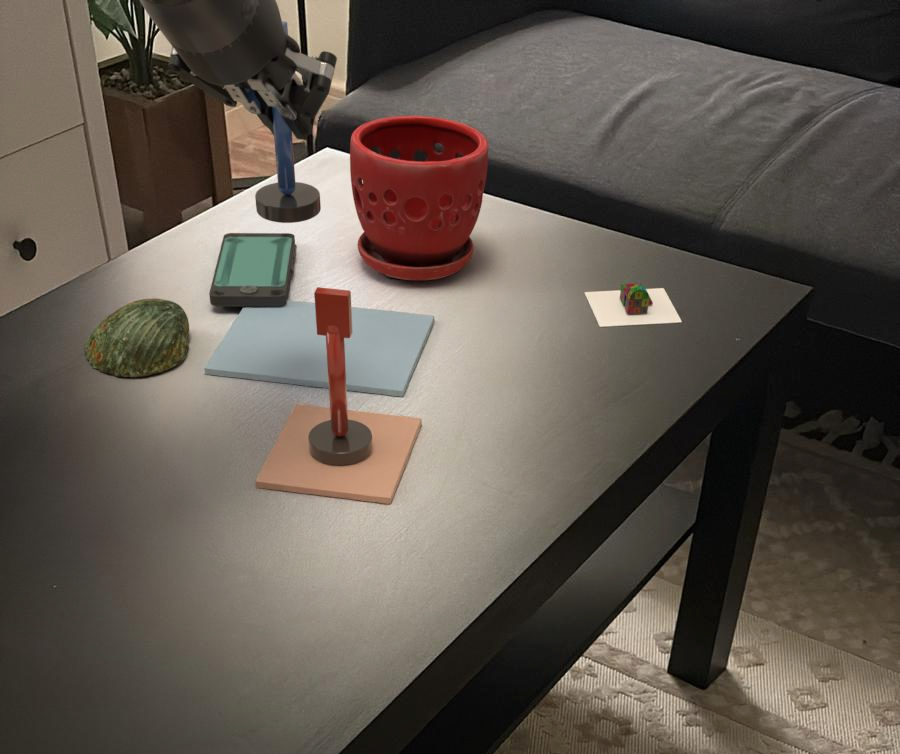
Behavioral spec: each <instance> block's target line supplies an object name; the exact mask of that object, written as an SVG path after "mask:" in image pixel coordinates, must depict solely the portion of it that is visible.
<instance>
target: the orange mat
mask: <svg viewBox="0 0 900 754" xmlns="http://www.w3.org/2000/svg"><path fill="white" fill-rule="evenodd" d="M348 419H349V420H354V421H358V422H360V423H362V424H364V425H366V426H367V427H368V428H369V429H370V430H371V432H372V439H373V449H372V452H371V454H370V455H369V456H368V457H367V458H366V459H365V460H363V461H361V462H359V463H356V464H352V465H346V466H333V465H328V464H324V463H321V462H319V461H317V460H316V459H315V458H313V457H312V455H311V454H310V451H309V441H308V435H309V433H310V431H311V430H312V428H313V427H315V426H316V425H318V424H320V423H322V422H325V421H328V420H331V417H330V407H329V406H328V407H327V406H319V405H318V406H317V405H310V404H301V403H296V404H294V406H293V409H292V410H291V412H290V414H289V416H288V418H287V420H286V421H285V423H284V425H283V427H282V429H281V431H280V433H279V435H278V437H277V439H276V441H275V443H274V445H273V446H272V448H271V450H270V453H269V454H268V455H267V458H266V460H265V462H264V464H263V466H262V467H261V469H260V471H259V473H258V475H257V477H256V479H255V481H254V482H255V488H256V489H257V488H258V489H266V490H275V491H281V492H290V493H298V494H307V495H315V496H320V497H321V496H322V497H330V498H336V499H337V498H339V499H347V500H354V501H363V502H368V503H369V502H371V503H379V504H387V505H391V504H392V502H393V499H394V496H395V494H396V491H397V489H398V485H399V483H400V481H401V479H402V476H403V473H404V470H405V468H406V465H407V462H408V460H409V458H410V455H411V452H412V450H413V448H414V444H415V442H416V440H417V437H418V435H419V431H420V430H421V427H422V418H421V417H414V416H413V417H412V416H404V415H395V414H388V413H387V414H386V413H379V412H370V411H362V410H355V409H354V410H353V409H348Z"/></svg>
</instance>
